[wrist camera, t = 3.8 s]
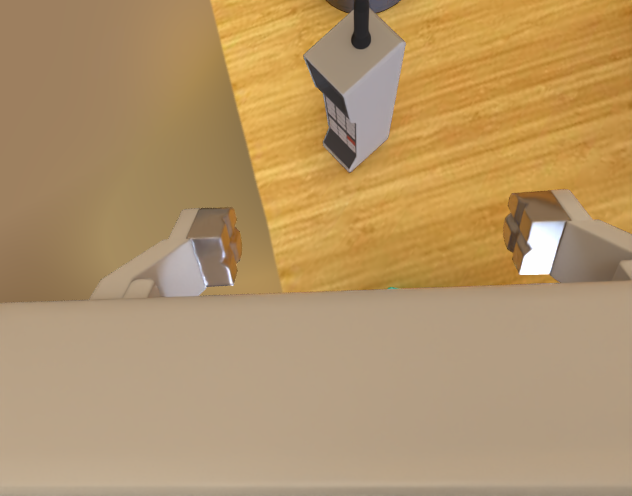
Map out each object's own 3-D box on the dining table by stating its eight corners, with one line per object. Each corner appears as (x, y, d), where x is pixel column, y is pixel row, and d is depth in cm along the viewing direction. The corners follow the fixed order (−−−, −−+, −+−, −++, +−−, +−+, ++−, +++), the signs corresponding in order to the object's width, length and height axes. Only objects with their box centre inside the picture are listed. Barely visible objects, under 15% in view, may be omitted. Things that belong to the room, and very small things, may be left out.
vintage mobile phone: (323, 146, 44) (277, -53, 19) (361, 112, 44) (365, -133, 19) (349, 174, 43) (337, 6, 18) (388, 139, 43) (428, -77, 18)
